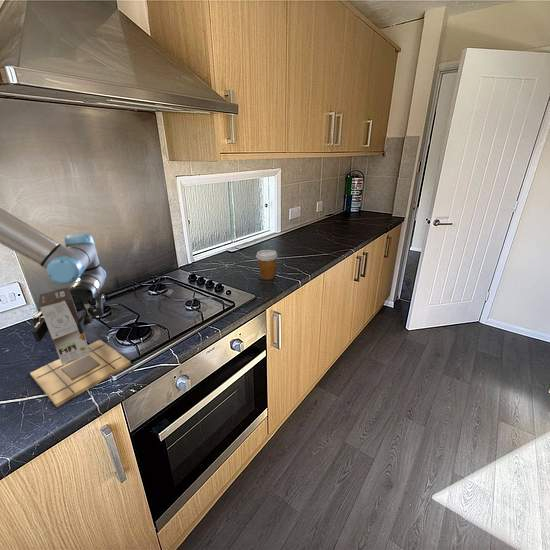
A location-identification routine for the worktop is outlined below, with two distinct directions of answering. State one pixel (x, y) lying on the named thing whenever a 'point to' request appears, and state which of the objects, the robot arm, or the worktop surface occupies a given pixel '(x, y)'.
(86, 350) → the coffee box
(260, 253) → the disposable coffee cup
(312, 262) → the worktop surface
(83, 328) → the robot arm
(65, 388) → the game board
